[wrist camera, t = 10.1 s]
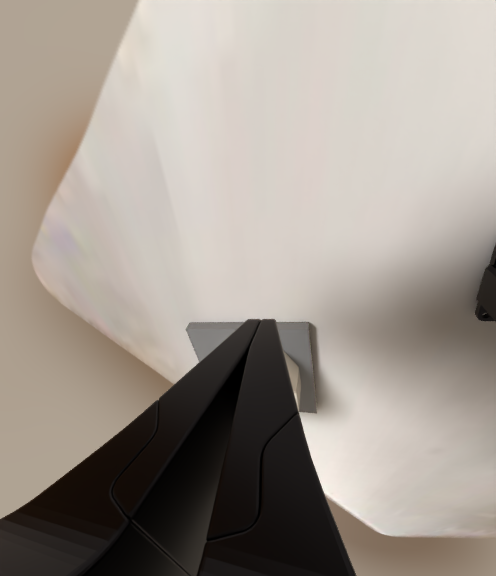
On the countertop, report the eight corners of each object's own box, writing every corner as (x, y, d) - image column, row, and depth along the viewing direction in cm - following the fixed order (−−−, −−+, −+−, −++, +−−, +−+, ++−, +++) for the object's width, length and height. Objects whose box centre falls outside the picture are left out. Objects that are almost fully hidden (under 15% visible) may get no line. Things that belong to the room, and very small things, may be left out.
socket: (308, 322, 23) (306, 355, 20) (316, 405, 29) (316, 441, 26) (189, 322, 26) (171, 351, 23) (219, 396, 32) (207, 426, 29)
